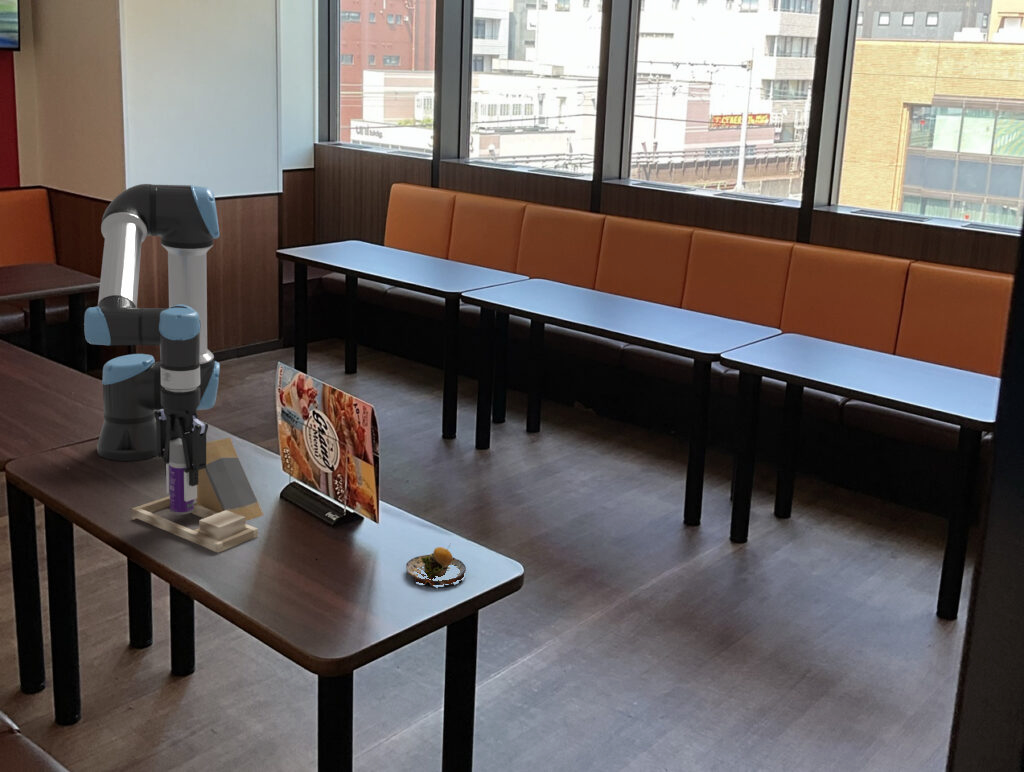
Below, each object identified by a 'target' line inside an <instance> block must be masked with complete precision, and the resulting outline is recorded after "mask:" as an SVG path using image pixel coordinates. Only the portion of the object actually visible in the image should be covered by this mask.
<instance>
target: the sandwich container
mask: <svg viewBox="0 0 1024 772" xmlns="http://www.w3.org/2000/svg"><path fill="white" fill-rule="evenodd" d="M198 478H199V483H198V485H197V498H196V504H197V505H200V506H202V507H205V508H208V509H210V510H213V511H215V512H218V513H220V512H222V511H225V510H227V511H230V512H233V513H235V514H238V515H241V516H244V517H246V522H247V521H251V520H254V519H257V518H260V517H263V516H264V515H265V514H264V513H263V510H262V508H261V506H260V504H259V502H258V499H257V497H256V495H255V492H254V490H253V488H252V486H251V484H250V482H249V479H248V476H247V474H246V472H245V470H244V468H243V466H242V463H241V461H240V458H239V456H238V454H237V451H236V449H235V445H234V444H233V442H232V438H231V437H226V438H221V439H220V438H219V439H214V440H209V441H206V468H204V469H201V470H199V471H198Z"/></svg>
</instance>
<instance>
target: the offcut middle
mask: <svg viewBox="0 0 1024 772" xmlns="http://www.w3.org/2000/svg"><path fill="white" fill-rule="evenodd" d="M245 530H246V527H243V528H240V529H238V530H235V531H233V532H230V533H228V534H225V535H223V536H221V537H218V536H215V535H213V534H210V533H207V532H204V531H202V530H199V533H201V534H203V535H206V536H208V537H210V538H213V539H215V540H218V541H220V540H222V539H225V538H227V537H230V536H232V535H235V534H237V533H240V532H242V531H245Z"/></svg>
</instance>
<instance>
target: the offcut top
mask: <svg viewBox="0 0 1024 772" xmlns="http://www.w3.org/2000/svg"><path fill="white" fill-rule="evenodd" d="M246 522H247V521H246V517H244V516H241V515H238V514H235V513H233V512H230V511H227V510H225V511H222V512H220V513H217V514H214V515H212V516H209V517H207V518H201V519H199V521H198V523H199V527H198V528H199V530H202V531H204V532H207V533H210V534H213V535H215V536H218V537H221V536H223V535H225V534H228V533H230V532H233V531H235V530H238V529H240V528H243V527H245V524H247V523H246Z"/></svg>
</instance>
